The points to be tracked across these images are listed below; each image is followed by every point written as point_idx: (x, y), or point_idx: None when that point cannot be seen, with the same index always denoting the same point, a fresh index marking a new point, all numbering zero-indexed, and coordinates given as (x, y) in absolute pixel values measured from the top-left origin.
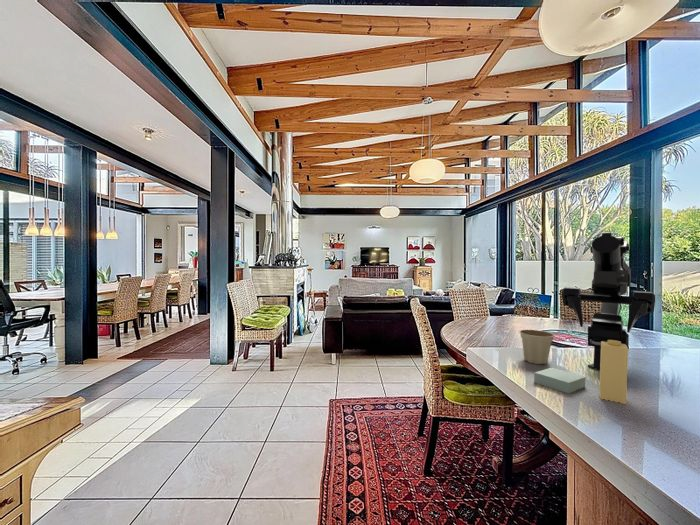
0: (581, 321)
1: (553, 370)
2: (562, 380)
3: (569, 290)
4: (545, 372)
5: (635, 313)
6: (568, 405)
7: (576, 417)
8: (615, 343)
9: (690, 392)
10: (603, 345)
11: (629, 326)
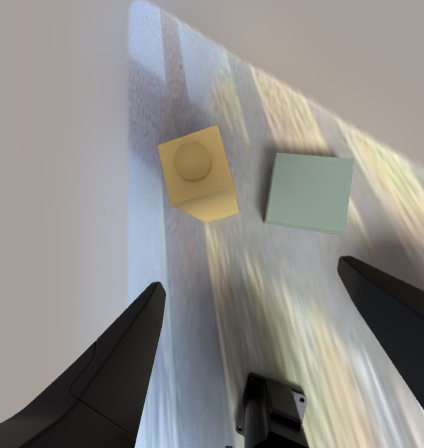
0: (358, 265)
1: (331, 211)
2: (290, 155)
3: None
4: (337, 180)
5: (68, 370)
6: (256, 110)
7: (234, 78)
8: (185, 145)
9: None
10: (214, 126)
11: (144, 294)
